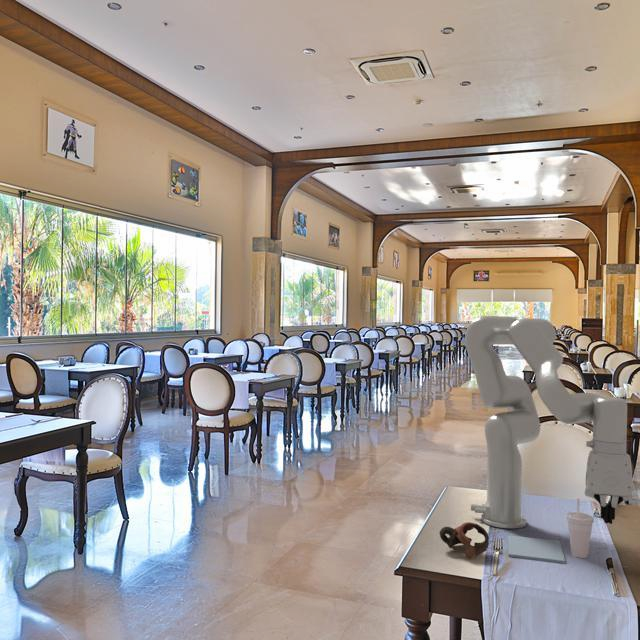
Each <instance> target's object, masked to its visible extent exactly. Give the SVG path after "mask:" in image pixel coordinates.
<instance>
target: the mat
mask: <svg viewBox="0 0 640 640" xmlns="http://www.w3.org/2000/svg"><path fill="white" fill-rule="evenodd" d="M507 551H508V552H507V555H508V557H510V558H519V559H527V560H534V561H535V560H536V561H543V562H551V563H558V564H560V563H561V564H566V559H565V555H564V552H563V548H562V544H561V541H560V540H554V539H553V540H552V539H545V538H535V537H528V536H527V537H526V536H517V535H509V534H508V535H507Z"/></svg>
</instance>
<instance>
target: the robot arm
mask: <svg viewBox="0 0 640 640" xmlns="http://www.w3.org/2000/svg"><path fill="white" fill-rule="evenodd" d="M464 334H465V335H464V345H465V348H466V352H467V354H468V357H469V359H470V361H471V364H472V369H473V372H474V373H473V374H474V378H475V381H476V384H477V387H478V390H479V395H480V397H481V402H482V403H483V404H484V406H486V408H489V409H507V411H502V412H496V413H494V414H493V415H491V416H489V418H488V419H487V420H486V422H485V425H484V436H485V441H486V449H487V478H486V480H487V481H486V483H487V484H486V485H487V486H486V501H485V504H483V503H482V504H476V503H471V504H470V511H472V512H474V513H475V514H481V515H480V519H481V521H482V522H483V523H484V524H486V525H488V526H491V527H495V528H499V529H500V528H501V529H512V530H513V529H521V528H524V527H525V526H526V525H527V524H528V523H527V522H528V521H527V519H526V518H525V517H524V516H522V484H523V483H522V481H523V477H522V476H523V465H522V464H523V461H522V455H521V453H520V449H519V447H518V445H522V444H528V443H532V442H533V441H535V440H537V439H538V437H539V435H540V432H541V421H540V418H539V415H538V412H537V411H538V410H537V408H536V405H535V404H536V403H535V401H534V398H533V394H532V391H531V388H530V387H529V385H528V383H527V382H526V381H525V380H524V379H523V378H522V377H520V376H517V375H507V374H506V371H505V369H504V365H503V362H502V359H501V357H500V356H499V354H498V353H497V351H496V350H495V349H494V348H493V346H494V345H510V346H511V345H513V347H515V349H516V350H517V351H518V352H519V353H520V355H521V357H522V358H523V359H524V361H525V362H526V364H528V365H529V367H530V369H531V370H532V371H533V373H534V374H535V384H536V389H537V393H538V396H539V398H540V399H541V400H540V401H542V403H543V404H544V405H545V407H546V408H547V409H548V411H549V412H550V413H551V415H552V416H554V418H556V419H557V420H558V421H559V422H561V423H563V424H566V425H573V424H574V425H575V424H581V423H583V424H584V423H592V439H591V440H588V441H586V443H585V444H586V446H585V447H586V448H587V447H588V448H590V449H592V450H589V453H588V457H587V462H586V463H587V464H586V471H585V489H584V492H583V493H584V495H585V496H586V497H588V498H592V499H594V500H596V501H597V502H598V504H600V519H602V520H603V522H604V524H610V525H612V524H613V521H614V520H615V518H616V509H617V507H618V506H619V505H620V504H621V503H622V502H627V501H632V500H633V491H634V489H633V487H634V486H633V485H634V483H633V469H632V461H631V455H630V454H628V453H627V434H628V433H627V432H628V431H627V430H628V428H627V427H628V402H627V401H626V400H625V399H623V398H622V397H616V396H615V397H614V396H604V395H599V394H596V393H593V392H592V393H591V392H573V393H570V392H569V390H567V389H568V388H566V387H565V386H564V384H563V383H562V381H561V380H560V377H559V375H558V372H557V371H558V369H559V368H560V367H561V365H562V364H563V362H564V356H563V355H562V353H561V352H560V351H559V350H558V348H557V347H556V346H555V345H554V342H555V341H556V339H557V332H556V329H555V326H554V325H553V324H552V323H551V322H550V321H549V320H547V319H543V318H530V317H517V316H502V315H500V316H497V315H485V316H480V317H477V318H475V319H473V320H472V321H471V322H470V323H469V324H468V326H467V328H466V331H465V333H464ZM606 496H609V497H610V498H609V502H608V503H607V501H606V500H607V499H606Z"/></svg>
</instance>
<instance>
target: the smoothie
mask: <svg viewBox="0 0 640 640" xmlns="http://www.w3.org/2000/svg"><path fill="white" fill-rule="evenodd" d="M566 520H567V527H568V535H569V543H570V552H571V555H572V556H573V557H576V558H580V559H586V558H588V557H589V556H588V555H589V550H590V549H589V548H590V542H591V536H592V529H593V528H592V527H593V524H594V523H595V517H593V516H592V515H590V514H587V513H583V512H580V498H577V499H576V511H575V512H568V513H566Z"/></svg>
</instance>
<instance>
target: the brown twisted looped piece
mask: <svg viewBox="0 0 640 640" xmlns="http://www.w3.org/2000/svg"><path fill="white" fill-rule="evenodd" d="M473 529H475V530H476V531H477V533H478V534H480V535H483V537H484V541H482V542H476V541H475V542H474V544H473V545H471V543H472V541H473V538H471V537H468V536H466V534H467V533H468V532H469V531H471V530H473ZM438 533H439V536H440V537H439V538H440V539H441V541H443V543H445V544H446V545H447V546H448V548H449V549H452V548H453V547H455V546H456V545H458V544H459V545H463V546H464V547H465V548H467V550H466V552H465V554H464V555H465V558H466V559H468V560H472V559H473V558H474V557H478V556H479V555H480V556H481V554H484V553H485V552H487V551H488V550H487V549H488V548H489V543H490V542H489V540H490V536H489V534H488V532H487V530H486V529H485V528H484V527H482V526H481V525H480V524H478V523H475V522H470V521H469V522H464V523H462V524H461V525H459V526H457V527H455V528H453V527H450V526H443V527H442V528H441V529H440V530H439V532H438ZM448 536H449V537H448Z"/></svg>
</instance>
